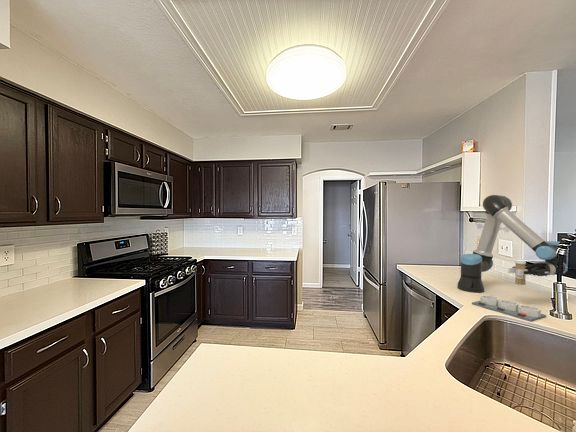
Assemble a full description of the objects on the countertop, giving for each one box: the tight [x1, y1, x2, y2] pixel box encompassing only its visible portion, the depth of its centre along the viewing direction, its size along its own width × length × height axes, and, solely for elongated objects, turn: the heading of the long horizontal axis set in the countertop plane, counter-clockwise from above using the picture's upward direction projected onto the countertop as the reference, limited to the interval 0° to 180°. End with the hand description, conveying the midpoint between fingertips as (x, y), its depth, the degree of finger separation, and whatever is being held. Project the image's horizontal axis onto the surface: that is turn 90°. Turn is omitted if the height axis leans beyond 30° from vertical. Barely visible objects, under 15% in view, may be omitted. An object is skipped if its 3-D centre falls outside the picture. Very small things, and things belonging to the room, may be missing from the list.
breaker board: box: [471, 294, 547, 323], centre depth 145 cm, size 27×15×4 cm, turn 26°
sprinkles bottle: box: [514, 259, 527, 286], centre depth 153 cm, size 5×5×14 cm
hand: (513, 271), depth 151 cm, fingers closed on sprinkles bottle, 4 cm apart
